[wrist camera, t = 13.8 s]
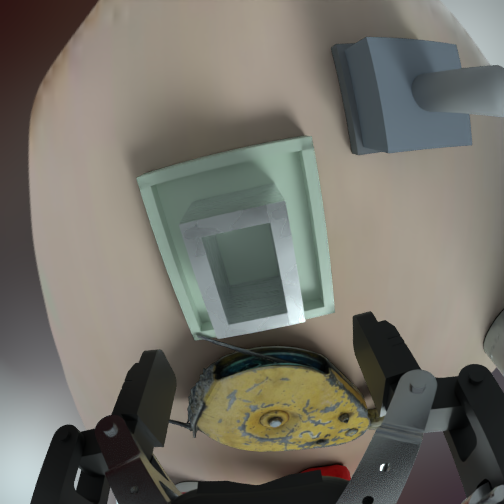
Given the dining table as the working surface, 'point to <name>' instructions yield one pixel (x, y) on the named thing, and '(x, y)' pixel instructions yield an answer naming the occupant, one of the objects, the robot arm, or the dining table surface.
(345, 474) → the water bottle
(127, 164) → the dining table surface
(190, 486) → the fruit juice
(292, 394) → the pulley block
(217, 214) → the gray open box
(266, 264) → the tray
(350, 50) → the grey peg stand
